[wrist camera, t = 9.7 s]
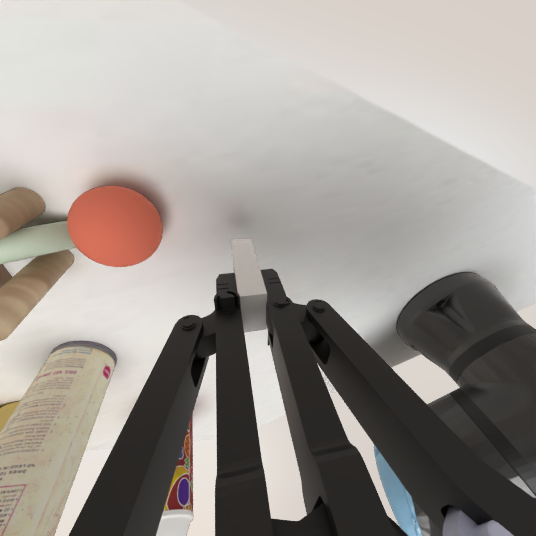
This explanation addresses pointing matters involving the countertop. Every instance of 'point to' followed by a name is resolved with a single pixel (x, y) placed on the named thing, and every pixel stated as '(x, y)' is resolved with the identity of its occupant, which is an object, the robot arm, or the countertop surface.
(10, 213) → the pin
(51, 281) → the pin
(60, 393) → the aerosol can
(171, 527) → the smoothie
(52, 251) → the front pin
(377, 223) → the countertop surface
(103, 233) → the ball
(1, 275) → the back wall
